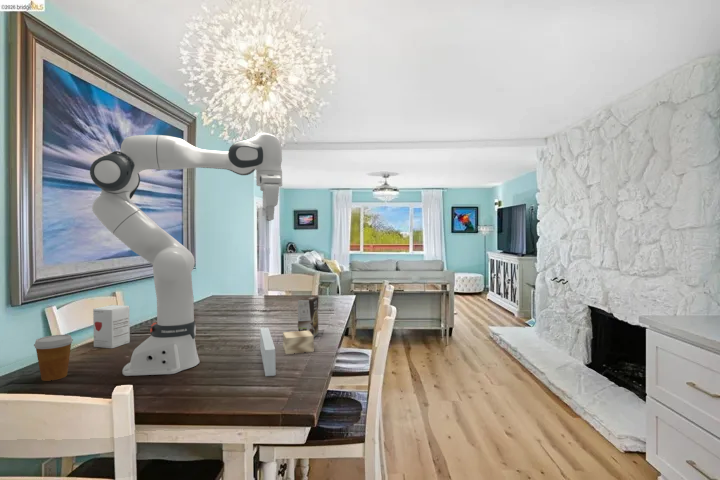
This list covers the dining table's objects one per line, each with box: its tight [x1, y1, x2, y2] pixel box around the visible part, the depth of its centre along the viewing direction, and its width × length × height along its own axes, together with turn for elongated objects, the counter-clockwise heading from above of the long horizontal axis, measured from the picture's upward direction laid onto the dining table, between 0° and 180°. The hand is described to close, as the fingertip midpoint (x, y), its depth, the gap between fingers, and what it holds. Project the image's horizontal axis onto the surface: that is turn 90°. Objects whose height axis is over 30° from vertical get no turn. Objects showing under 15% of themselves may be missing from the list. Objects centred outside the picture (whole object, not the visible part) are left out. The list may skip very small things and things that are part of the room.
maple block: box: [282, 330, 315, 355], centre depth 151 cm, size 10×9×6 cm
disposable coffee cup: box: [33, 334, 74, 382], centre depth 124 cm, size 10×10×12 cm
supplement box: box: [92, 304, 131, 349], centre depth 160 cm, size 9×9×15 cm
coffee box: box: [297, 296, 319, 338], centre depth 171 cm, size 9×6×16 cm
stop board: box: [259, 327, 277, 377], centre depth 138 cm, size 3×30×8 cm, turn 17°
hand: (269, 220), depth 142 cm, fingers open, 8 cm apart
